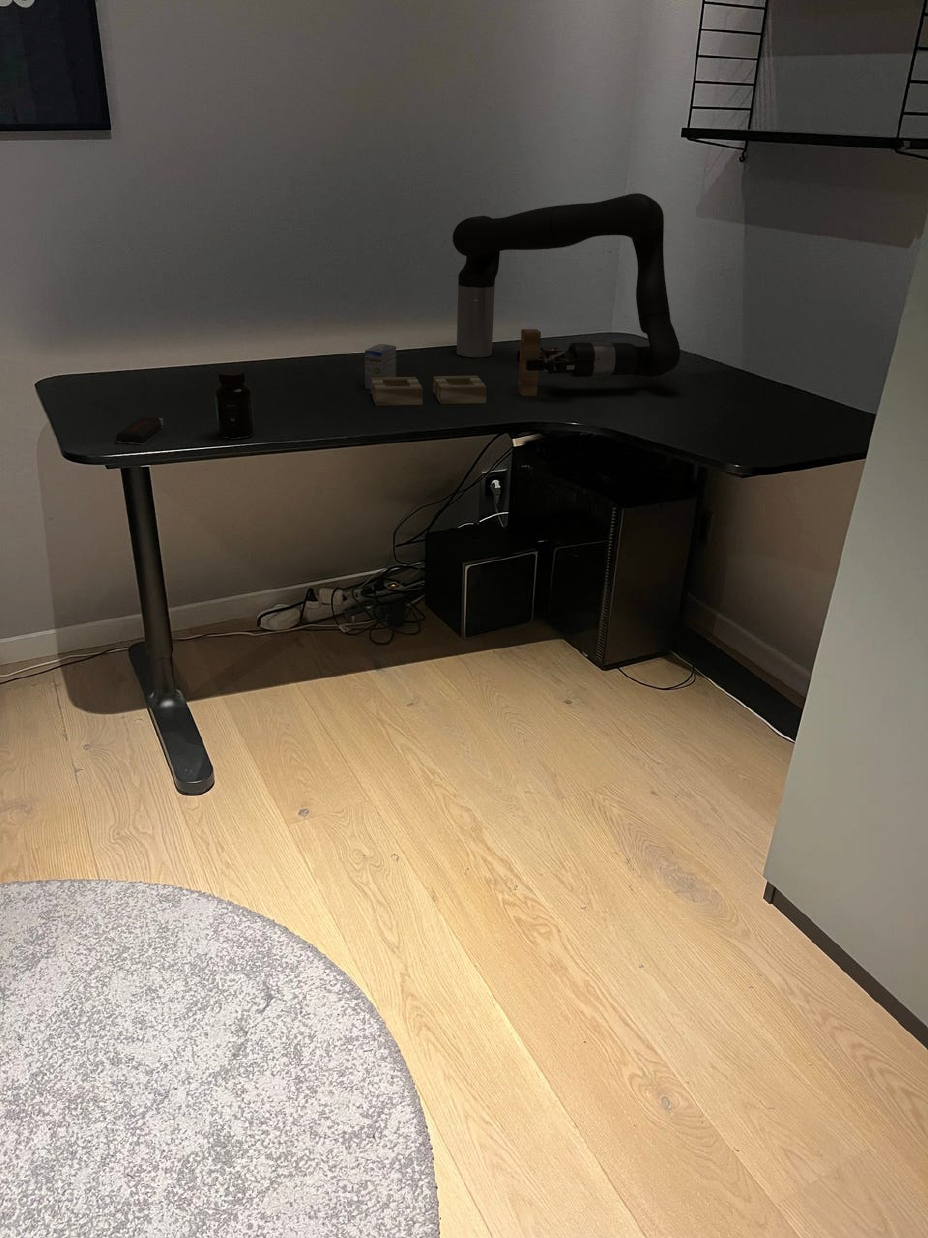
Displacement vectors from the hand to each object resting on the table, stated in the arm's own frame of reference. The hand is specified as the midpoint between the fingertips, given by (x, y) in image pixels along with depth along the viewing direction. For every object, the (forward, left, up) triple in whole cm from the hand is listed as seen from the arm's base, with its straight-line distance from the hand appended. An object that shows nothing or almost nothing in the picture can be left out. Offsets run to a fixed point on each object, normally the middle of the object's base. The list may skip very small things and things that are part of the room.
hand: (521, 360), depth 216 cm
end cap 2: (+1, -14, -8) cm, 16 cm away
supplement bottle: (+24, -62, -8) cm, 67 cm away
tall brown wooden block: (0, +2, -8) cm, 8 cm away
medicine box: (-10, -30, -8) cm, 33 cm away
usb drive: (+22, -80, -8) cm, 83 cm away
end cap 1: (+1, -28, -8) cm, 29 cm away
